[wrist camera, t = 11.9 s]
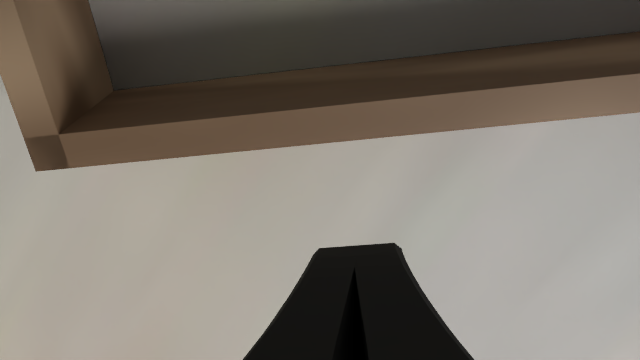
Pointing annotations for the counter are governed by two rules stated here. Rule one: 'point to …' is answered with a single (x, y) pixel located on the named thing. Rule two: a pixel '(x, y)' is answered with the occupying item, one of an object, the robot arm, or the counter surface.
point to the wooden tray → (288, 94)
